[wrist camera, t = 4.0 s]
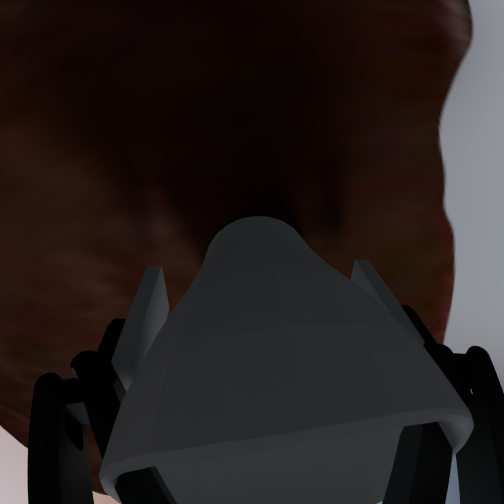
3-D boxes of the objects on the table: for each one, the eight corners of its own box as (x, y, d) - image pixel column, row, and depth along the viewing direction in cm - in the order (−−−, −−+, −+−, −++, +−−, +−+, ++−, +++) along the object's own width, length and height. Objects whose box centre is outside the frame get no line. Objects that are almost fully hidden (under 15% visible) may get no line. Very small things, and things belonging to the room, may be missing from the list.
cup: (209, 344, 21) (205, 533, 9) (137, 214, 16) (13, 442, 4) (352, 301, 20) (435, 481, 8) (321, 150, 15) (535, 321, 3)
